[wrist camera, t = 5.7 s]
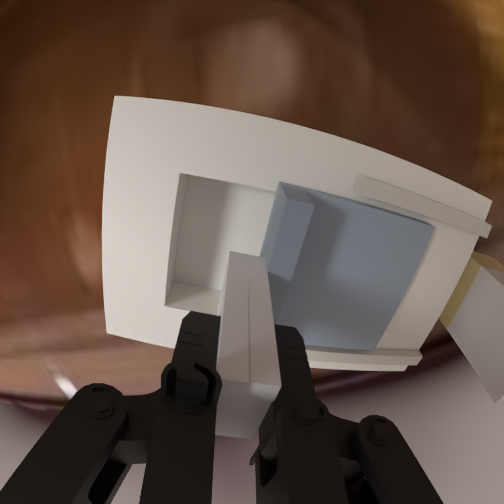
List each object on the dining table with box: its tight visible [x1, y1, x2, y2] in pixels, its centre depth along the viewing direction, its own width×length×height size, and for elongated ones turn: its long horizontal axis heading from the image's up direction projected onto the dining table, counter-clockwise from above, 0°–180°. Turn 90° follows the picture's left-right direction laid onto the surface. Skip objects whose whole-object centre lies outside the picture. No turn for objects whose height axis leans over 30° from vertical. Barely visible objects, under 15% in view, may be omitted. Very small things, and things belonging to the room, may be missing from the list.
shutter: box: [259, 181, 435, 350], centre depth 13 cm, size 8×8×3 cm
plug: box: [439, 251, 504, 404], centre depth 14 cm, size 5×5×10 cm
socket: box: [102, 96, 492, 371], centre depth 16 cm, size 20×13×4 cm, turn 77°
